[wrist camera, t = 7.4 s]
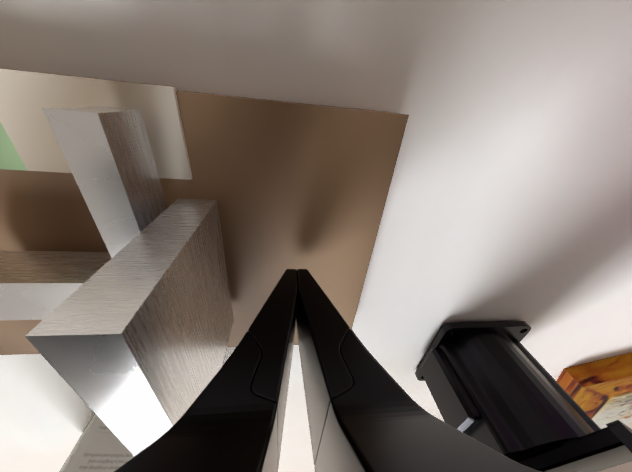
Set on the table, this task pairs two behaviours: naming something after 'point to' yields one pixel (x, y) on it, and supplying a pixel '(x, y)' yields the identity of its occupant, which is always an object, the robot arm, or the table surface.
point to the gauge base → (210, 183)
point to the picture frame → (602, 389)
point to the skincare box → (97, 450)
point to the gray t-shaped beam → (126, 284)
